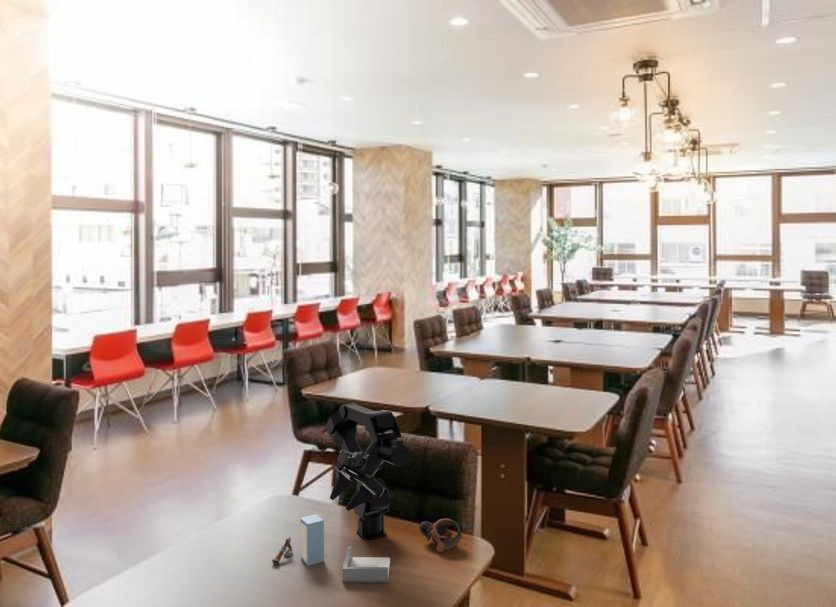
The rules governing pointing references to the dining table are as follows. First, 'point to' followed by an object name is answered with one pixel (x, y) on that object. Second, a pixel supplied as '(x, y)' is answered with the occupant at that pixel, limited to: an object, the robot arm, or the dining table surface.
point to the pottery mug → (441, 533)
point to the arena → (365, 569)
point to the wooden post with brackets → (281, 552)
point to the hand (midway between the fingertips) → (338, 504)
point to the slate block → (312, 539)
